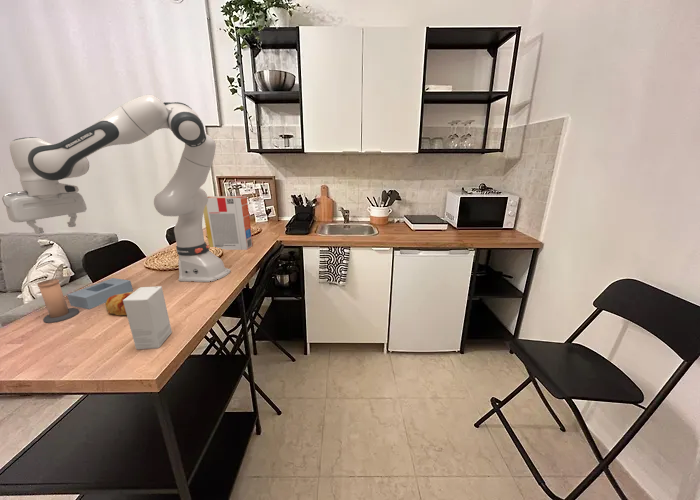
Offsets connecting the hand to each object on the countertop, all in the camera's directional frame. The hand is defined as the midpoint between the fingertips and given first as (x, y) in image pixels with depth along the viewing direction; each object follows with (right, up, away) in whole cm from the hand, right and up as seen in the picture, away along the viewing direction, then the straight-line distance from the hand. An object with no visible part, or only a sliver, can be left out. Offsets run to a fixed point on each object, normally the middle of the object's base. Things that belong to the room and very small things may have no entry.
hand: (56, 229), depth 103 cm
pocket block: (+7, -26, +11) cm, 29 cm away
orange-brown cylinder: (+3, -29, -2) cm, 29 cm away
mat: (+3, -30, -2) cm, 30 cm away
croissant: (+23, -28, +2) cm, 37 cm away
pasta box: (+31, -6, +73) cm, 80 cm away
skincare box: (+45, -34, -17) cm, 59 cm away
